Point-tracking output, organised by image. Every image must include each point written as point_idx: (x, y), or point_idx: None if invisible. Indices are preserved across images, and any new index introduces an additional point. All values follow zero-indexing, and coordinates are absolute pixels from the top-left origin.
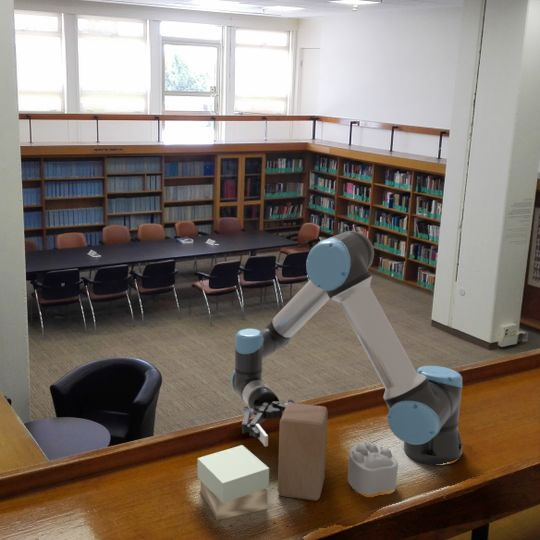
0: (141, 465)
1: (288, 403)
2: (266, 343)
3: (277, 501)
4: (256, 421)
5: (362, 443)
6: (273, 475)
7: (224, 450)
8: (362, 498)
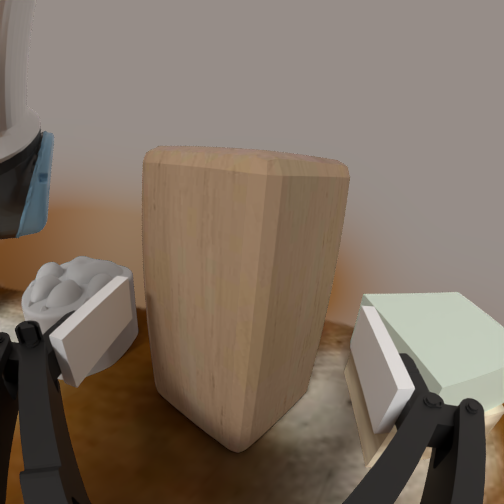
0: None
1: (270, 157)
2: None
3: (313, 382)
4: (405, 419)
5: (31, 308)
6: (275, 472)
7: (490, 370)
8: (144, 325)
